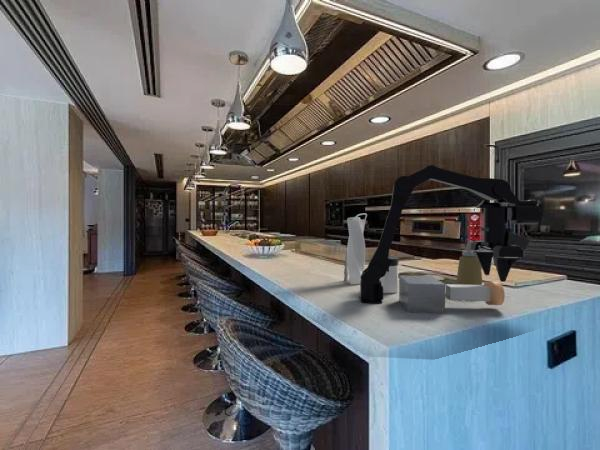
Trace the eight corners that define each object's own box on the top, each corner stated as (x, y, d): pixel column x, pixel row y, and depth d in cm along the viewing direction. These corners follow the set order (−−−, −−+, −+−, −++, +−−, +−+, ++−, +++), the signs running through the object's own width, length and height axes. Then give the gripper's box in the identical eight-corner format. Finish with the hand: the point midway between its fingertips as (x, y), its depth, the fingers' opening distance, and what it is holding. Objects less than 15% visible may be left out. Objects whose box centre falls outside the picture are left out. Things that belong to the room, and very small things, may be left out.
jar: (403, 291, 114) (404, 257, 113) (390, 294, 108) (390, 259, 108) (382, 286, 120) (383, 255, 120) (368, 290, 115) (369, 256, 115)
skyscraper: (363, 281, 132) (364, 213, 131) (368, 285, 124) (369, 213, 123) (343, 281, 131) (343, 213, 130) (347, 285, 123) (347, 213, 122)
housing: (407, 312, 89) (407, 283, 89) (399, 300, 101) (399, 275, 101) (444, 313, 88) (445, 284, 88) (431, 301, 100) (432, 276, 100)
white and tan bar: (451, 306, 91) (452, 283, 90) (443, 300, 97) (444, 278, 97) (504, 308, 89) (504, 284, 89) (492, 301, 96) (493, 279, 95)
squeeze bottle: (468, 295, 108) (469, 241, 108) (451, 289, 116) (452, 240, 115) (487, 293, 110) (488, 241, 110) (469, 288, 118) (470, 239, 118)
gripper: (547, 225, 81) (545, 286, 82) (507, 223, 100) (507, 272, 101) (500, 225, 83) (499, 285, 83) (470, 223, 101) (469, 272, 102)
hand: (494, 278), depth 92 cm, fingers open, 9 cm apart
